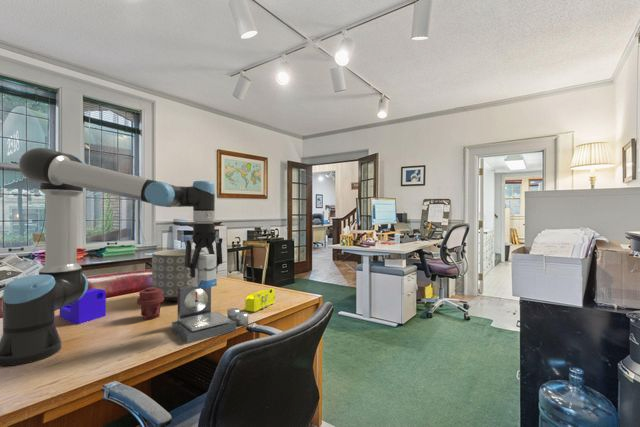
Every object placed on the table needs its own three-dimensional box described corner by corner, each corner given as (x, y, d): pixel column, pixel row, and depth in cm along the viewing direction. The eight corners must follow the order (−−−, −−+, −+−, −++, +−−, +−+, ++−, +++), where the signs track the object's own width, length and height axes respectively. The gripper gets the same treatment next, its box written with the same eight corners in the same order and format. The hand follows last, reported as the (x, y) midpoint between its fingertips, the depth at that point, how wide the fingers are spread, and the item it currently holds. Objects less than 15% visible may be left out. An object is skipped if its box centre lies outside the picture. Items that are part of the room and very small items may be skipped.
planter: (193, 305, 148) (193, 255, 148) (141, 305, 148) (141, 254, 148) (212, 292, 173) (212, 249, 173) (167, 291, 173) (167, 249, 173)
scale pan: (191, 331, 106) (191, 328, 106) (179, 321, 116) (179, 319, 116) (230, 322, 116) (230, 319, 116) (215, 313, 125) (215, 311, 125)
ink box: (217, 285, 115) (217, 254, 115) (205, 288, 111) (205, 255, 111) (202, 283, 120) (202, 252, 120) (191, 285, 116) (191, 254, 116)
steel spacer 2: (239, 327, 120) (239, 316, 120) (233, 323, 124) (233, 313, 124) (250, 324, 123) (250, 314, 123) (244, 320, 127) (244, 311, 127)
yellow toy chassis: (255, 313, 137) (255, 294, 137) (244, 311, 139) (244, 293, 139) (275, 304, 151) (275, 287, 151) (265, 302, 154) (265, 285, 154)
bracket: (105, 316, 132) (105, 288, 132) (79, 324, 122) (79, 294, 122) (75, 311, 138) (75, 285, 138) (47, 319, 128) (47, 290, 128)
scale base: (186, 343, 104) (187, 299, 104) (169, 328, 118) (169, 288, 118) (236, 330, 116) (236, 290, 116) (214, 317, 131) (215, 281, 131)
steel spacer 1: (230, 322, 125) (230, 312, 125) (225, 319, 129) (225, 309, 129) (242, 319, 129) (242, 310, 129) (236, 316, 132) (236, 307, 132)
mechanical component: (169, 314, 134) (152, 322, 125) (149, 312, 136) (131, 320, 127) (169, 286, 134) (152, 291, 125) (149, 284, 136) (131, 290, 127)
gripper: (180, 223, 107) (181, 290, 107) (232, 222, 119) (232, 282, 119) (174, 223, 112) (174, 287, 112) (223, 222, 125) (223, 279, 125)
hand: (204, 284), depth 116 cm, fingers closed on ink box, 6 cm apart
